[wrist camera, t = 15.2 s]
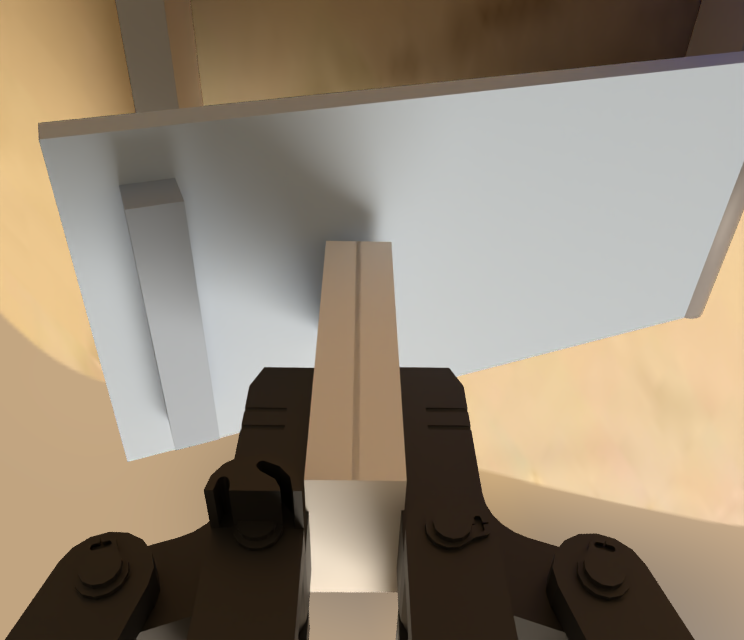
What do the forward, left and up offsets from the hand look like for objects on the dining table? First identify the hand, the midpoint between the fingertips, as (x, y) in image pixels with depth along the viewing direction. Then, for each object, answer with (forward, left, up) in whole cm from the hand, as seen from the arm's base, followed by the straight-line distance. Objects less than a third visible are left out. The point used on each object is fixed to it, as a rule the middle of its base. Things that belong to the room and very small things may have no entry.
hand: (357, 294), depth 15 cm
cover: (0, +3, -3) cm, 4 cm away
